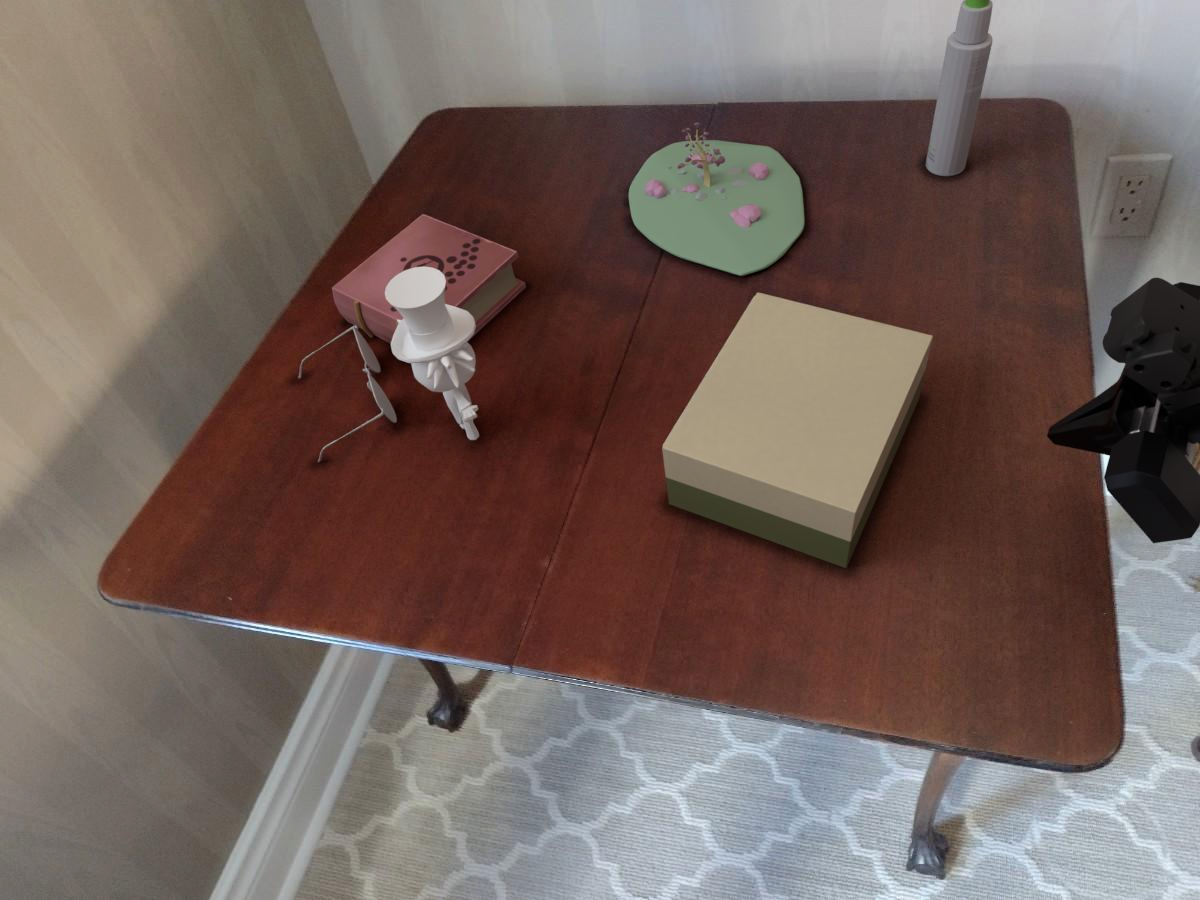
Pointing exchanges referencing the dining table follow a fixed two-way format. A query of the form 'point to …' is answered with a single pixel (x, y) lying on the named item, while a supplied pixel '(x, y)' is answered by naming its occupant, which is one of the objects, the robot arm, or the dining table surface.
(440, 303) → the figurine
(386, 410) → the sunglasses
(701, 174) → the green garden diorama
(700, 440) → the beige lidded box
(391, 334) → the book
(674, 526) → the dining table surface
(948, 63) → the bottle
